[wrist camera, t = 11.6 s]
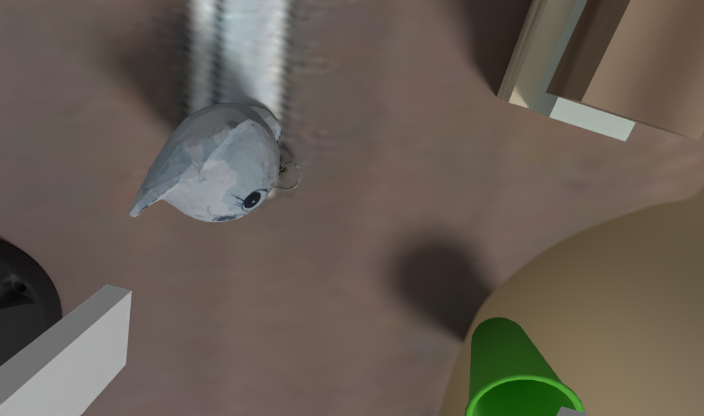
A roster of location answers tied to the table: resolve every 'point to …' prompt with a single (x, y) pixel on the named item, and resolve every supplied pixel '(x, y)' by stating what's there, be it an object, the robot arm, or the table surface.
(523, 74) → the tower base
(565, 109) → the tower top
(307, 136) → the table surface
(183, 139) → the figurine
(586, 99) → the walnut cube
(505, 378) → the cup
